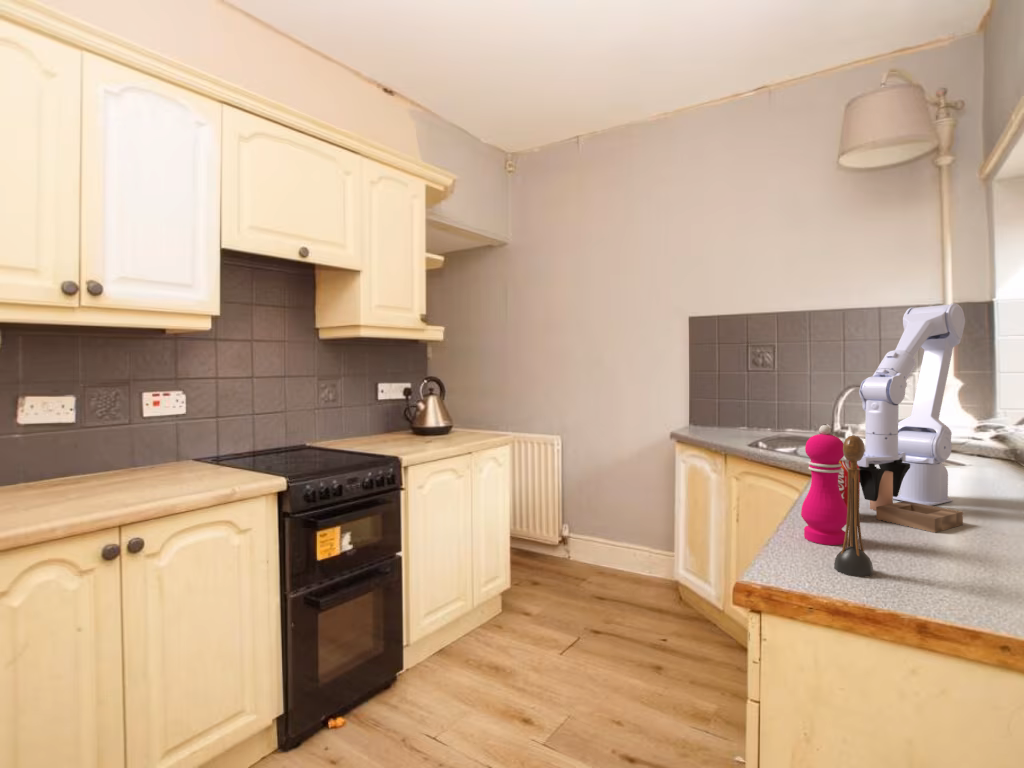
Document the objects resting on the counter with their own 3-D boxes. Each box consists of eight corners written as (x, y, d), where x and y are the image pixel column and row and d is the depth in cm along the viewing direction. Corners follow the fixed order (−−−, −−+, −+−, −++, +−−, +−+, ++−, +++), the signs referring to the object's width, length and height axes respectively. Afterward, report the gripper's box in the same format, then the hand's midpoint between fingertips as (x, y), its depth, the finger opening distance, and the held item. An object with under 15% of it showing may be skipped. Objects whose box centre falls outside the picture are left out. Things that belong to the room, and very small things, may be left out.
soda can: (867, 521, 107) (867, 459, 106) (830, 521, 107) (831, 460, 106) (846, 511, 114) (846, 454, 113) (811, 511, 114) (811, 454, 113)
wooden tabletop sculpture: (842, 561, 85) (843, 432, 84) (877, 568, 81) (878, 434, 81) (830, 571, 80) (831, 435, 80) (867, 579, 77) (867, 438, 77)
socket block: (904, 512, 112) (904, 500, 112) (962, 524, 103) (962, 511, 103) (876, 519, 108) (876, 506, 108) (934, 532, 99) (934, 518, 99)
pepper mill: (856, 547, 91) (856, 427, 90) (808, 545, 92) (809, 427, 92) (839, 534, 98) (839, 423, 98) (795, 532, 99) (795, 423, 99)
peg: (876, 506, 118) (876, 469, 118) (896, 510, 114) (897, 472, 114) (865, 508, 116) (865, 471, 116) (885, 512, 113) (886, 474, 112)
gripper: (881, 429, 122) (880, 490, 122) (841, 433, 115) (841, 498, 115) (916, 432, 116) (916, 496, 116) (876, 437, 109) (876, 505, 109)
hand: (881, 497), depth 115 cm, fingers open, 7 cm apart
